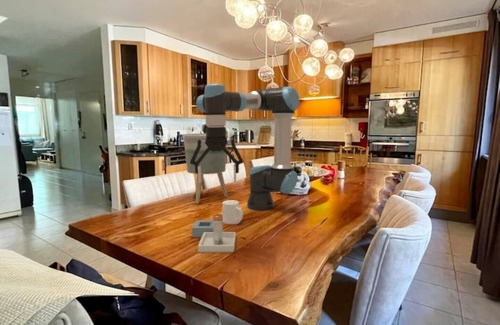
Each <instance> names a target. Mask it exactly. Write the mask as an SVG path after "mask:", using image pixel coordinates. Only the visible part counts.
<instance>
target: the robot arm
mask: <svg viewBox="0 0 500 325" xmlns="http://www.w3.org/2000/svg"><path fill="white" fill-rule="evenodd" d="M195 103H196V109H198V111H200V112H201V113H205V115H204V117H205V126H206V128H205V134H206V140H201V139H200V140H198V146H197V148H196V150H195V152H194V154H193V157H192V159H191V161H190V164H193V165H195V173H196V174H195V175H197V174H198V183H201V181H202V182H203V179H202V180H201V165H199V163H200V162H201V161H202V159H203V158H204V157H205V156H206V155H207V153H208V152H209V151H210V150H211V151H222V150H223V151H224V152H225V153H226V156H227V157H229V159H230V161H232V162H233V183H236V182H237V174H240V173H239V172H240V168H239V167H240V166H239V165H241V164H243V163H244V159H243V157H242V155H241V154H240V152H239V149H238V148H237V146H236V142H235V139H234V138H232V139H228V138H227V139H226V134H227V127H226V125H227V123H226V122H227V119H226V118H227V117H226V112H243V111H244V110H249V109H250V110H251V111H263V112H264V111H266V112H271V115H272V116H273V118H274V134H273V135H274V140H273V141H274V142H273V143H274V144H273V146H274V147H273V148H274V149H273V153H274V156H273V164H272V165H269V164H268V165H258V166H253V167H251V168H250V170H249V171H250V174H249V180H250V181H249V182H250V183H249V186H250V187H249V188H250V193H249V196H248V199H247V201H246V206H247V208H248V209H249V210H254V211H268V210H271V209H273V208H274V207H275V202H274V200H273V196H272V191H273V192H279V193H283V194H284V193H285V194H286V193H287V194H289V193H292V192H293V191H294V189H295V187H296V186H297V184H298V173H297V171H294V166H293V165H292V164H291V160H292V157H291V156H292V155H291V154H292V152H291V151H292V117H294V115H295V114H296V113H295V111H297V110H298V109H299V108H300V107H299V106H300V96H299V93H298V91H297V90H296V88H294V87H293V86H280V87H273V88H271V87H270V88H264V89H261V90H253V91H250V92H249V93H241V92H237V91H236V92H235V91H227V90H226V86H225V85H224V84H222V83H209V84H206V85H205V86H204V93H203V94H201V95H199V96H198V97H197V98H196V102H195ZM204 143H205V144H206V145H207V147H208V148H207V149H206V150H205V152H204V153H203V154H202V155H201V157H200V158H199V159H198V160H197V161H195V159H196V157H197V155H198V153H199V151H200V149H201V146H203V145H204ZM226 144H227V145H228V144H229V145H230V146H231V147H232V149H233V151H234V153H235V155H236V157H237V158H236V157H235V156H234V155H233V154H232V153H231V151H229V149H228V147H227V148H226V147H225V146H226Z"/></svg>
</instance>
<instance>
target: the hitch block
mask: <svg viewBox="0 0 500 325" xmlns="http://www.w3.org/2000/svg"><path fill="white" fill-rule="evenodd" d="M204 232H213V219H212V220H206V219H205V220H195V222H194V224H193V225H192V227H191V237H192V238H202V236H203V233H204Z"/></svg>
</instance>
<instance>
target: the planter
mask: <svg viewBox="0 0 500 325" xmlns="http://www.w3.org/2000/svg"><path fill="white" fill-rule="evenodd" d="M228 136H229V135H228V134H227V133H226V139H227V140H228ZM200 139H201V140H206V133H185V134H183V143H184V154H185V164H186V171H187V172H186V173H189V174H192V175H196V187H195V188H196V189H195V204H199V203H200V202H201V201H200V199H201V194H202V186H203V179H204V178H203V177H204V175H215V174H217V177H218V180H219V184H220V187H221V190H222V193H223V196H224V197H223V198H229V196H228V191H227V187H226V183H225V178H224V176H223V173H224V172H226V167H227V165H226V164H227V154H226V153H225V152H224V151H223V150H222V151H211V150H210V151H209V152H208V153H207V155H206V156H205V157H204V158H203V159H202V161H201V162H200V163H199V165H201V180H202V181H201V183H198V174H196V173H195V165H193V164H190V161H191V159H192V157H193V154H194V152H195V150H196V148H197V146H198V140H200ZM225 147H226V148H227V149H228V143H227V144H226V146H225ZM207 148H208V147H207V145H206V144H205V143H204V145H203V146H201V149H200V151H199V153H198V155H197V157H196V159H195V161H197V160H198V159H199V158H200V157H201V155H202V154H203V153H204V152H205V150H206V149H207Z"/></svg>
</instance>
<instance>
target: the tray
mask: <svg viewBox="0 0 500 325" xmlns="http://www.w3.org/2000/svg"><path fill="white" fill-rule="evenodd" d="M236 239H237V232H236V231H223V244H221V245H214V242H213V232H204V233H203V236H202V237H200V241H199V242H198V245H197V253H235V248H236V247H235V246H236Z"/></svg>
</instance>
